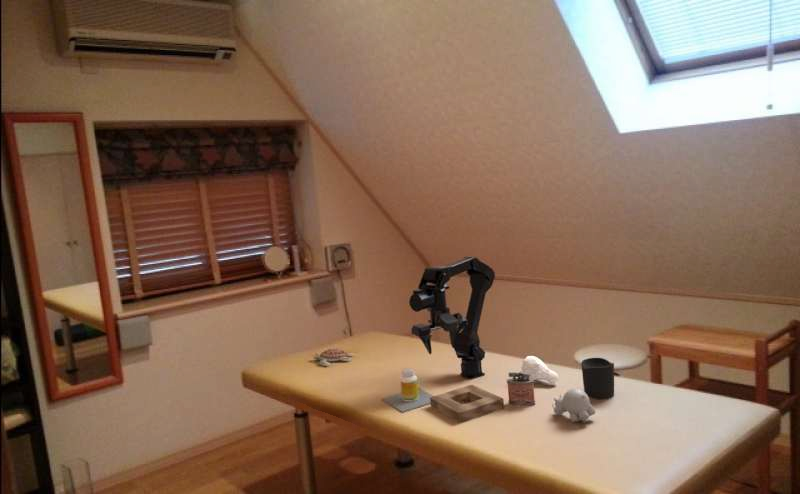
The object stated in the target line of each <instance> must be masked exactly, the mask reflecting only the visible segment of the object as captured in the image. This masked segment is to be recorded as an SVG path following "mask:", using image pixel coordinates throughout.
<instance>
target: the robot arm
mask: <svg viewBox="0 0 800 494" xmlns="http://www.w3.org/2000/svg"><path fill="white" fill-rule="evenodd" d="M464 272H465V273H466V275H467V276H469V284H470V287H471V291H470V292H471V294H470V297H469V298H470V299H469V301H468V307H467V311H466V315H465V316H463V314H462V313H461V312H457V313H456V312H455V313H451V311H450V307H448V306H447V295H446V290H449V289H450V286H449V285H448V284H447V283H448V282H449V281H450V280H451V278H452V277H454V276H457V275H460V274H463V273H464ZM495 277H496V272H495V271H494V269H493V268H492V267H491V266H489V265H488V264H486V263H485V262H482V261H480V260H479V259H478V258H477V257H476V256H464V257H463V258H461V259H458V260H455V261H453V262H449V263H447V264H444V265H435V266H434V265H433V266H427V267H425V269H424V272H423V273H422V276H421V279H420V282H419V284H418V287H417V289H415V290H413V291H412V294H411V295H410V297H409V300H408V301H409V302H408V303H409V306H410V309H411V310H412V311H414V312H416V313H418V312H422V311H424V310H427V312H429V319H428V324H425V323H418V324H414V325H412V327H411V329H410V331H411V334H412V335H415V336H416V337H418V338H419V339H420V341H421V342H422V344H423V345H424V347H425V349H426V351H427V353H428V355H432V344H431V342H432V341H431V338H432V337H433V336H432V334H431V333H432V331H435V330H439V329H443V331H444V332H447V333H449V339H450V340H449V341H450V345H451V347H452V348H453V350H454V352H455V356H456V357H457V358H458V359H460V361H461V363H460V370H461V372H460V373H459V375H460V376H461V377H465V378H466V379H468V380H472V379H476V378H478V377H483V376H485V374H486V373H485V372H483V367H482V361H483V360H484V359H485V357H486V352H485V350H484V349H483V348H482V347H481V346H480V343H481V341H480V336H479V334H478V331H479V325H480V322H481V321H480V320H481V316H482V311H483V308H484V302H485V298H486V295H487V292H489V290H490V289H491V288H492V286H493V285H494V280H495Z"/></svg>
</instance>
